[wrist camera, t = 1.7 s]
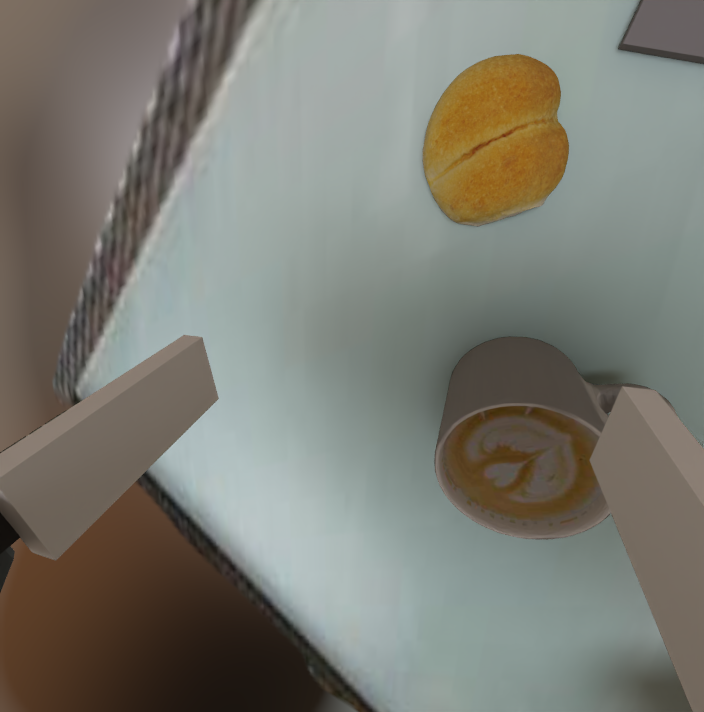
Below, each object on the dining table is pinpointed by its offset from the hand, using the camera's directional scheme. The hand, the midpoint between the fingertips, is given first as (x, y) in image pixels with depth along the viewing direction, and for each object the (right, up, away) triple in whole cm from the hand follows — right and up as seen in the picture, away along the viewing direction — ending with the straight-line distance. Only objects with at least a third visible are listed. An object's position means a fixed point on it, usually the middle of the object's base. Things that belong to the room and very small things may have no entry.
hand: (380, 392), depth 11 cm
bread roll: (+8, +15, +12) cm, 21 cm away
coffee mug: (+14, -2, +17) cm, 22 cm away
